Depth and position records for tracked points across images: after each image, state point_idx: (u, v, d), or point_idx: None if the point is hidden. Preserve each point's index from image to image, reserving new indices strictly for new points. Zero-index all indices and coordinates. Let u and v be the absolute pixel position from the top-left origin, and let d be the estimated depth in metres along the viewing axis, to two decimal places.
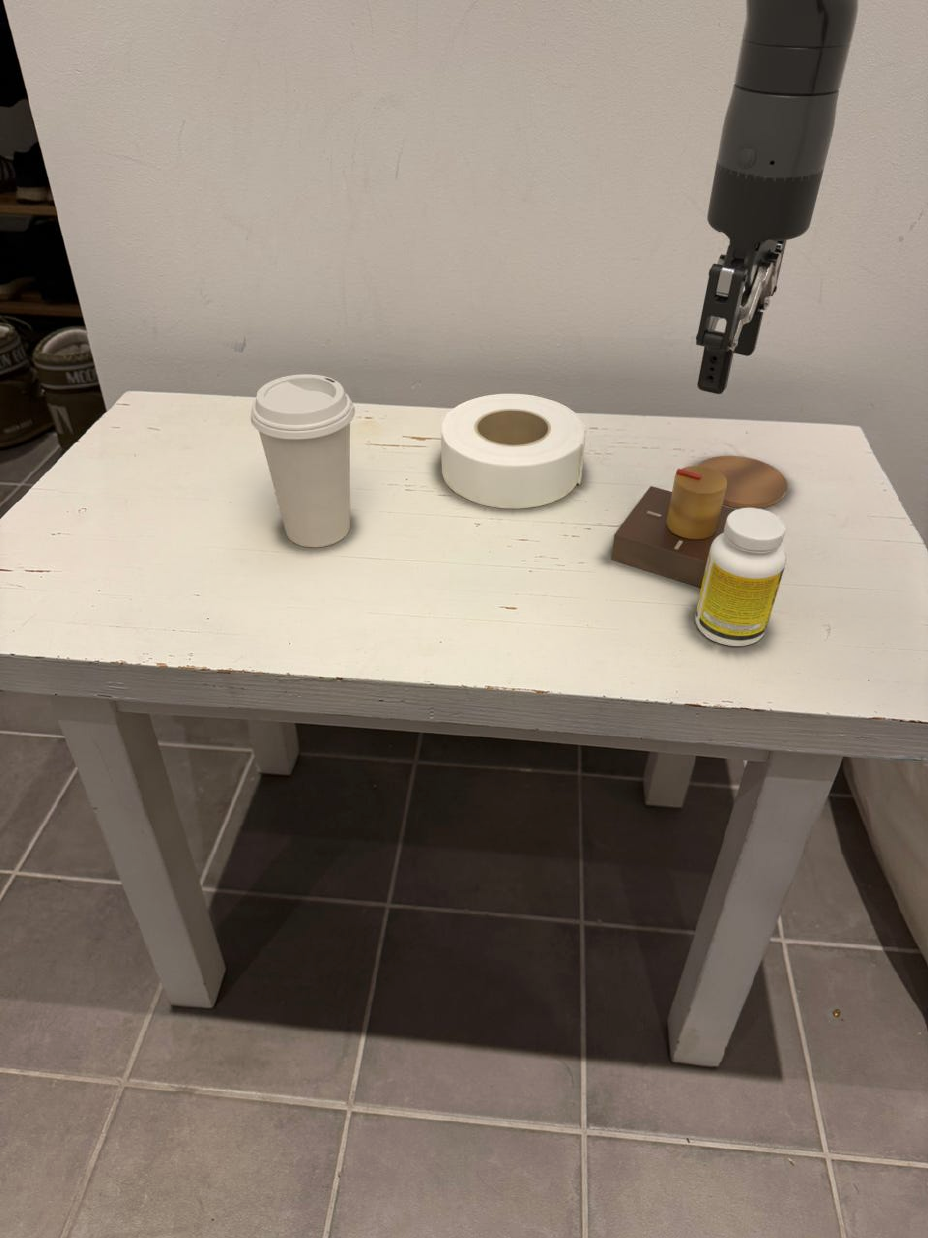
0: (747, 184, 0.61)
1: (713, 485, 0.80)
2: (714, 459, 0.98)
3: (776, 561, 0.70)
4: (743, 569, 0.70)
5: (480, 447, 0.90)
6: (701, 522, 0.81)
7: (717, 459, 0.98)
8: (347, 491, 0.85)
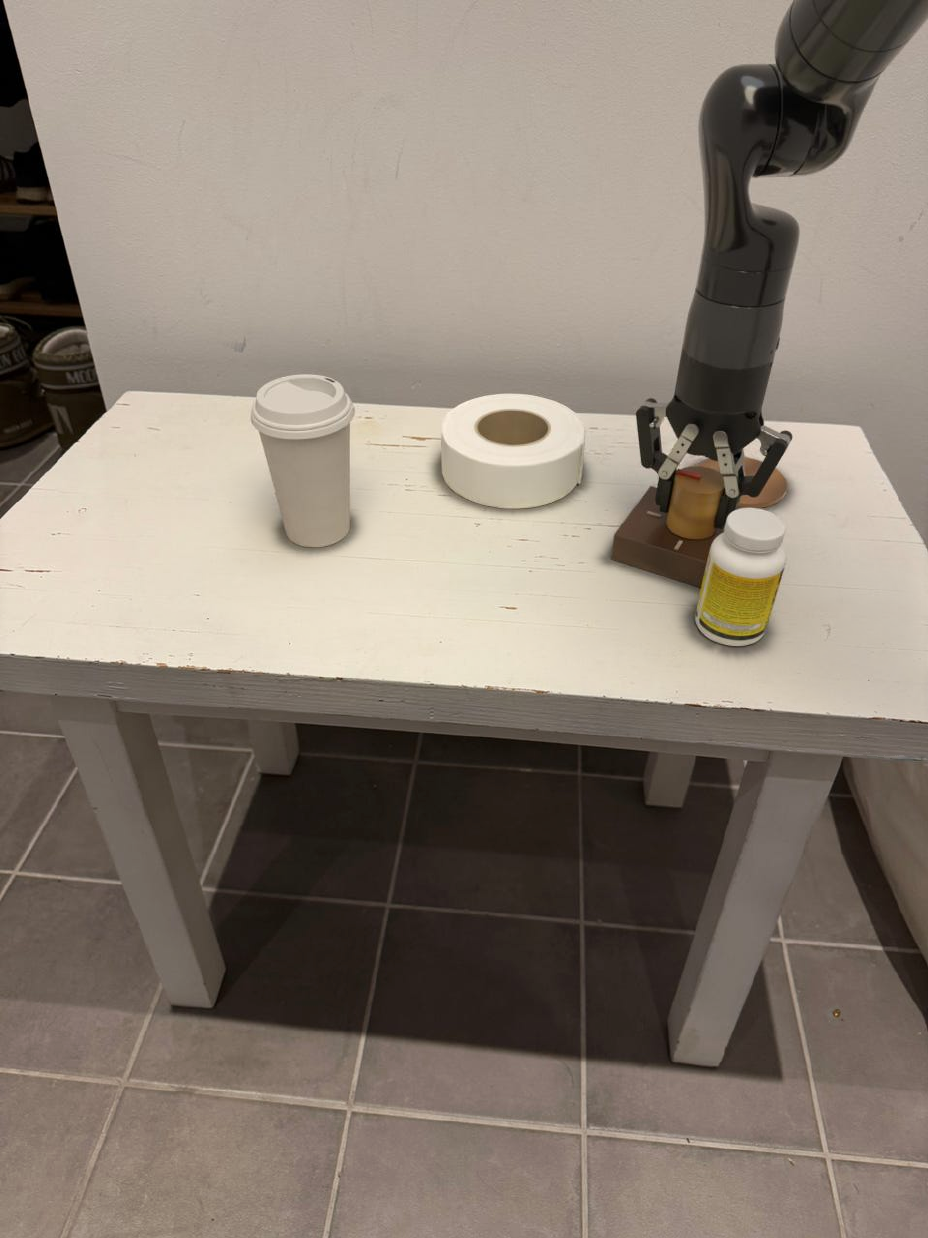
0: None
1: (713, 485, 0.80)
2: None
3: (776, 561, 0.70)
4: (743, 569, 0.70)
5: (480, 447, 0.90)
6: (701, 522, 0.81)
7: None
8: (347, 491, 0.85)
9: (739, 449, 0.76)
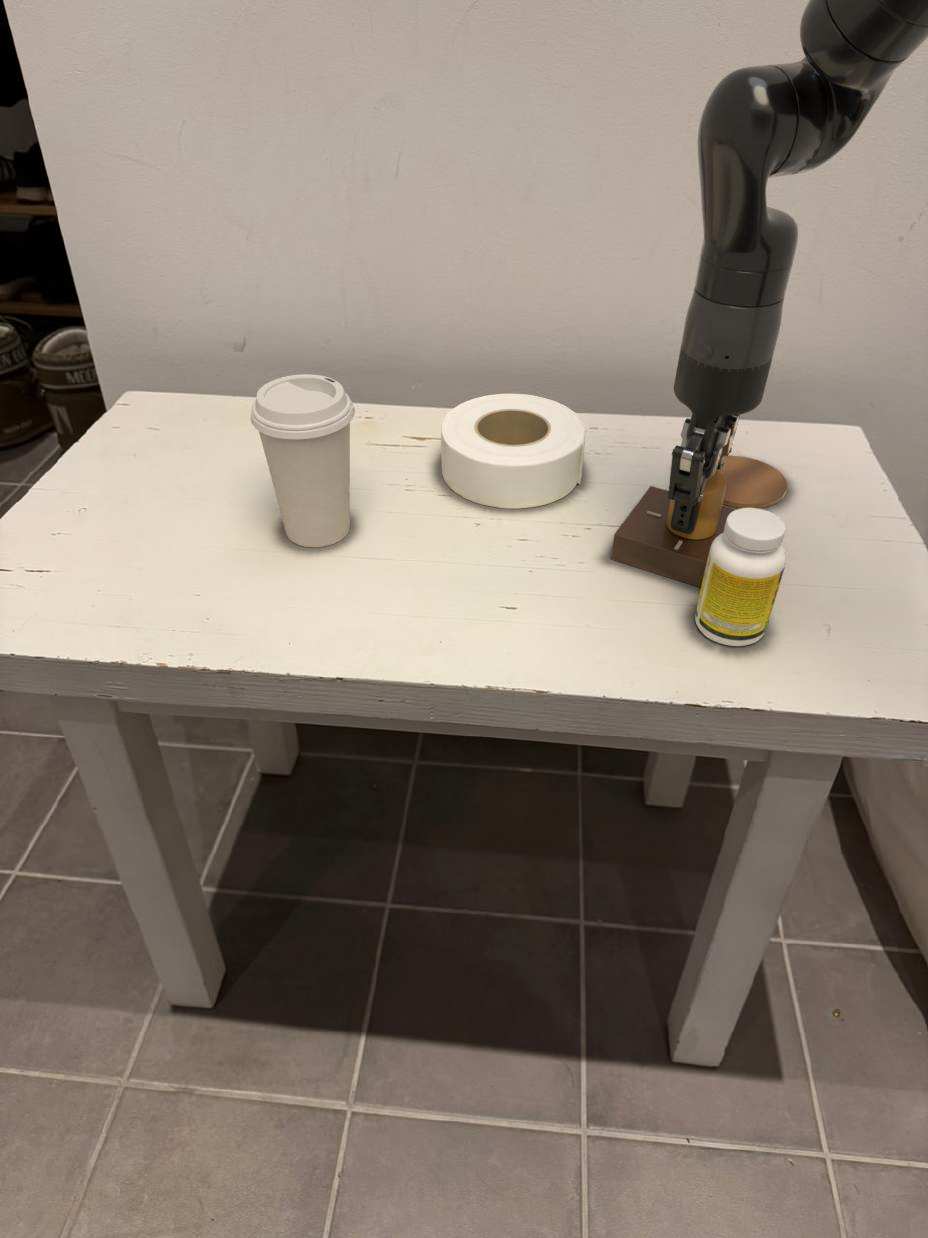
0: (706, 372, 0.70)
1: None
2: None
3: (776, 561, 0.70)
4: (743, 569, 0.70)
5: (480, 447, 0.90)
6: None
7: None
8: (347, 491, 0.85)
9: None
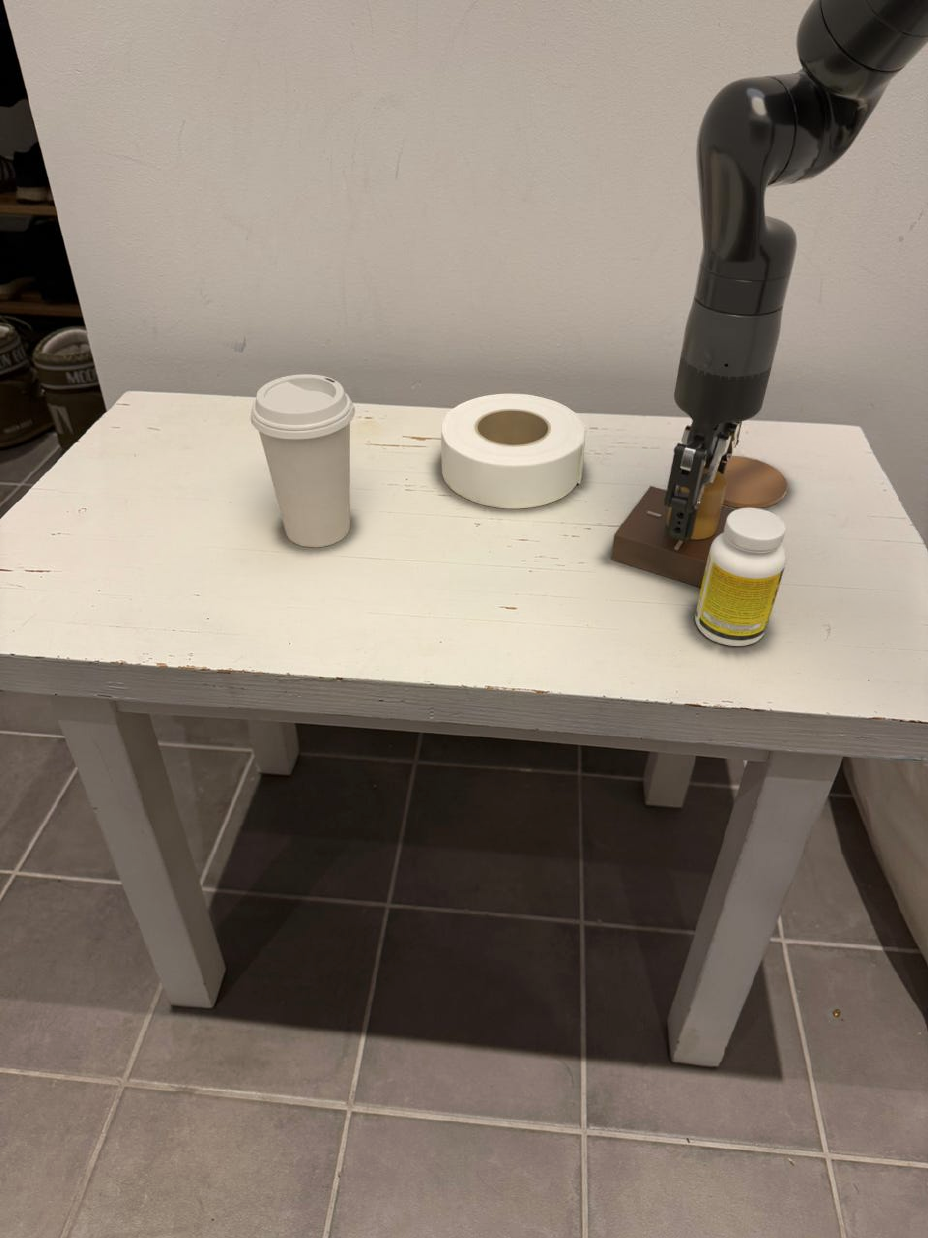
0: (706, 379, 0.71)
1: None
2: None
3: (776, 561, 0.70)
4: (743, 569, 0.70)
5: (480, 447, 0.90)
6: None
7: None
8: (347, 491, 0.85)
9: None
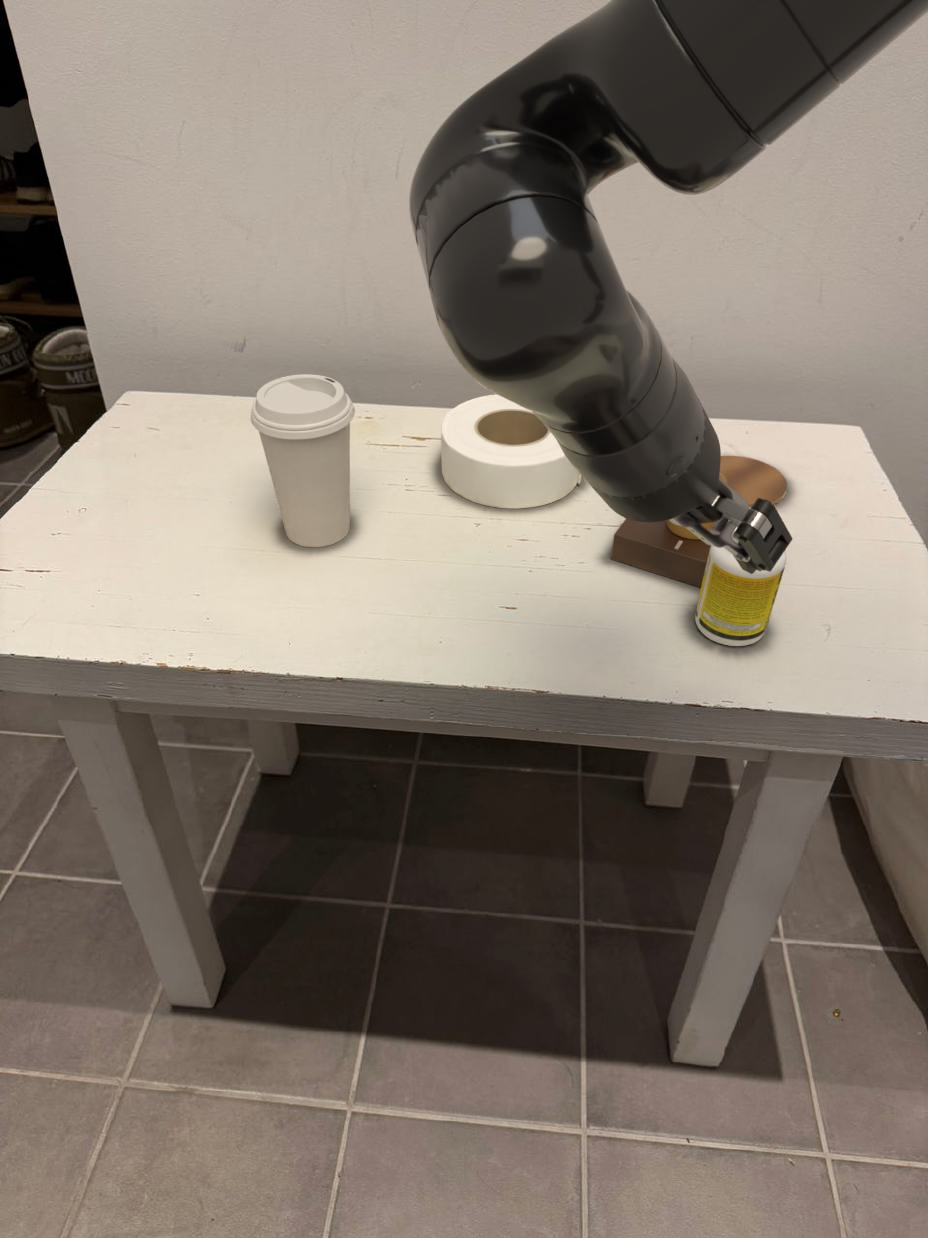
0: (691, 472, 0.47)
1: None
2: None
3: None
4: None
5: (480, 447, 0.90)
6: None
7: None
8: (347, 491, 0.85)
9: None
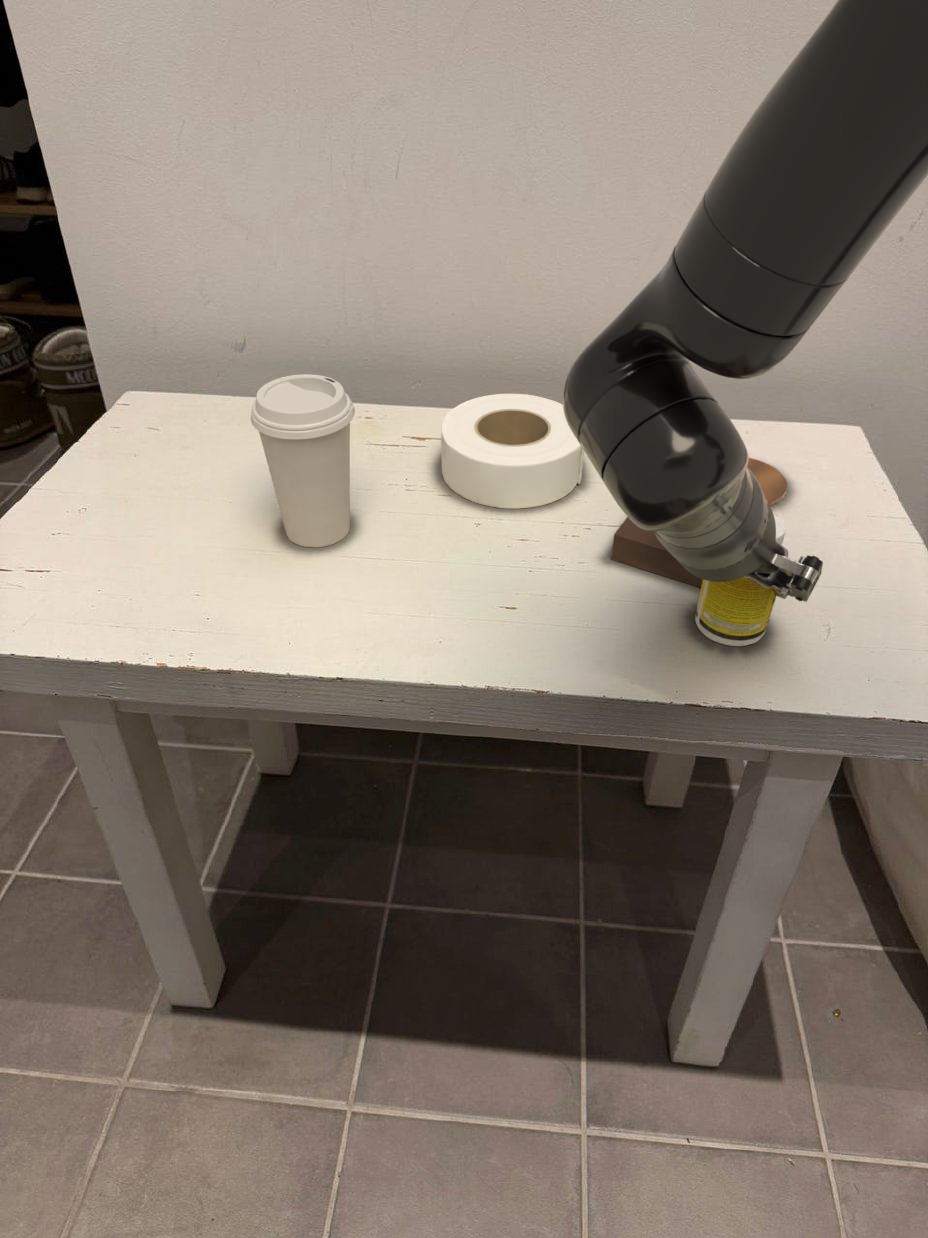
0: (760, 545, 0.59)
1: None
2: None
3: None
4: None
5: (480, 447, 0.90)
6: None
7: None
8: (347, 491, 0.85)
9: None
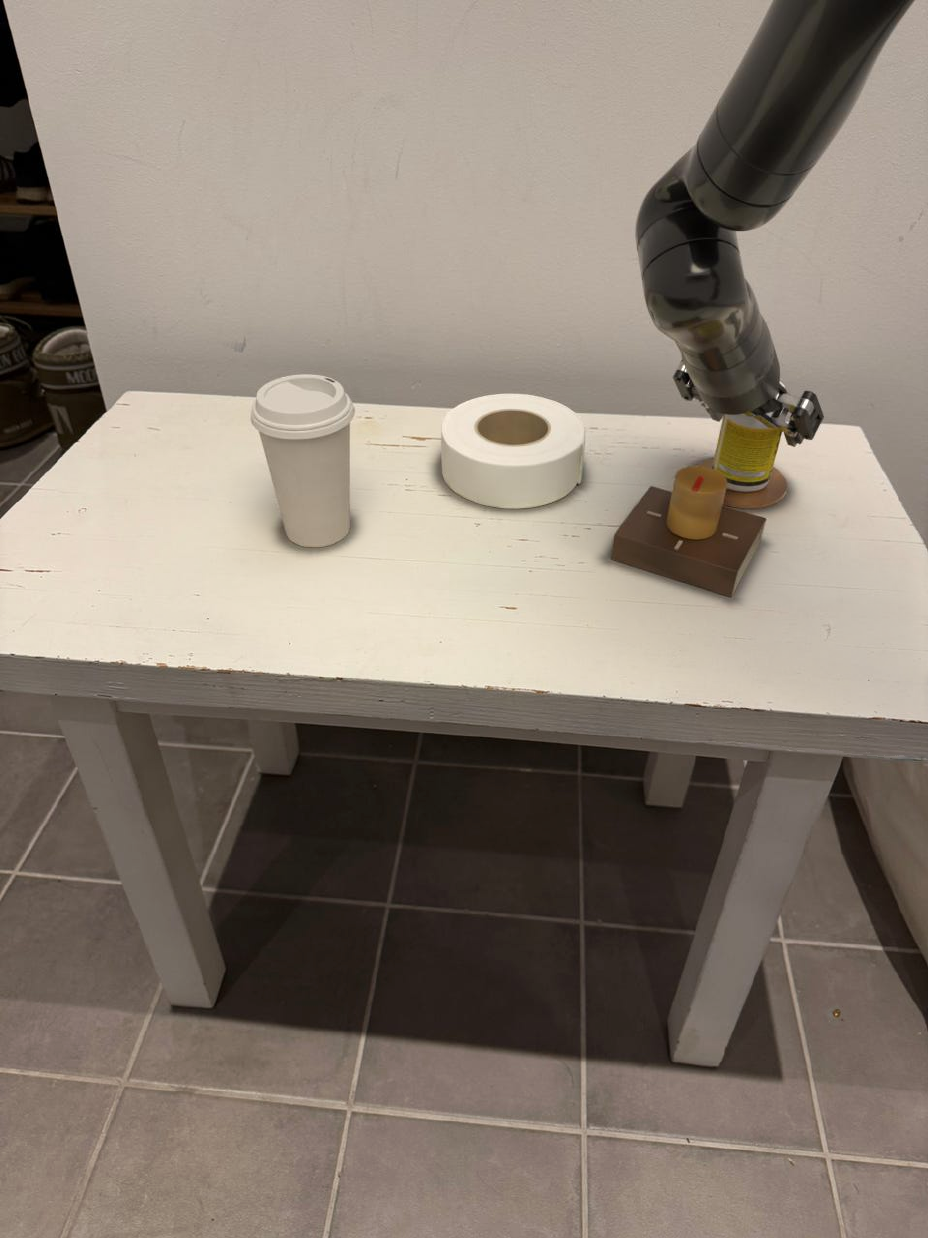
0: (767, 377, 0.77)
1: (710, 473, 0.81)
2: None
3: None
4: (751, 421, 0.87)
5: (480, 447, 0.90)
6: None
7: None
8: (347, 491, 0.85)
9: None
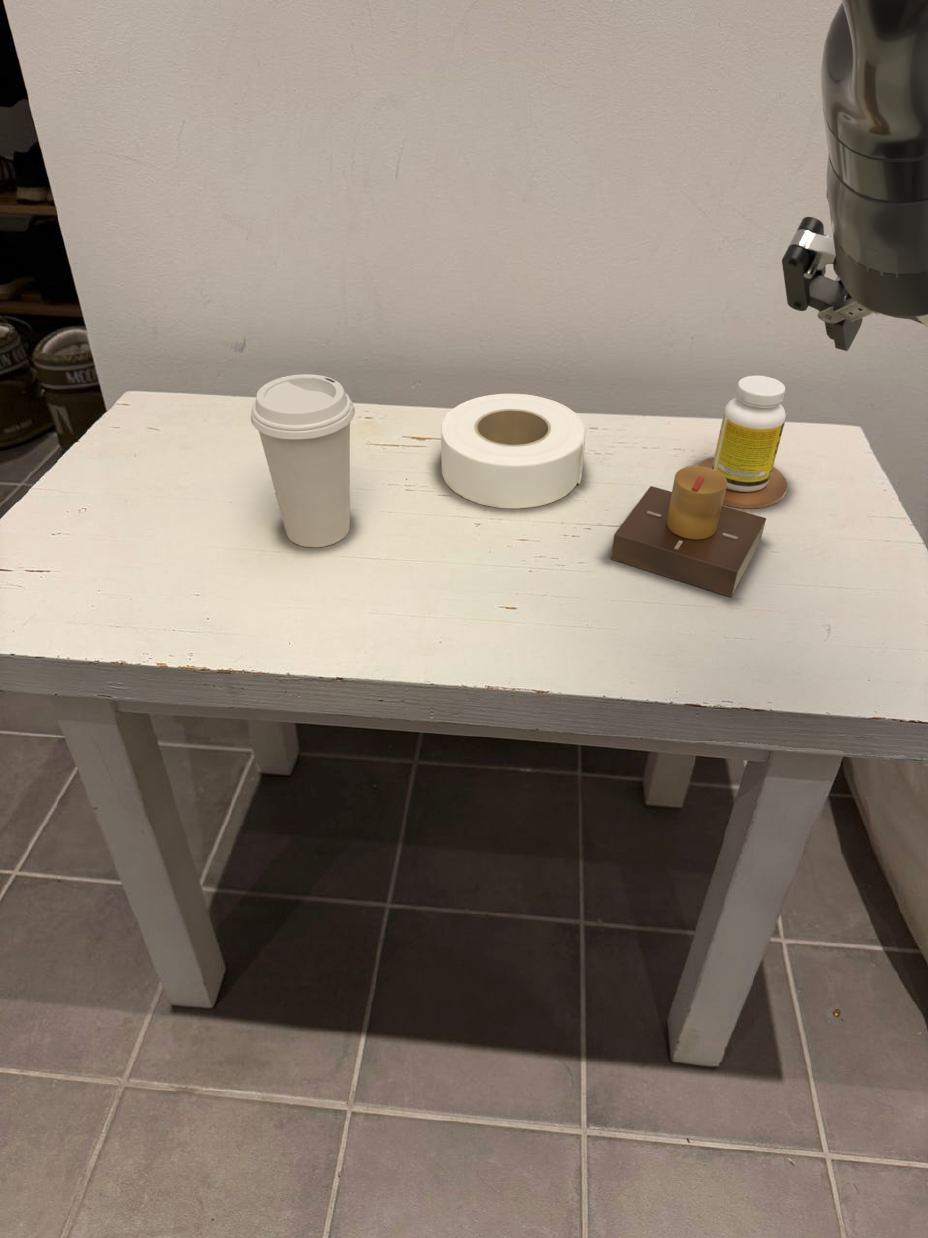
0: None
1: (710, 473, 0.81)
2: None
3: (778, 416, 0.88)
4: (751, 421, 0.87)
5: (480, 447, 0.90)
6: None
7: None
8: (347, 491, 0.85)
9: None
